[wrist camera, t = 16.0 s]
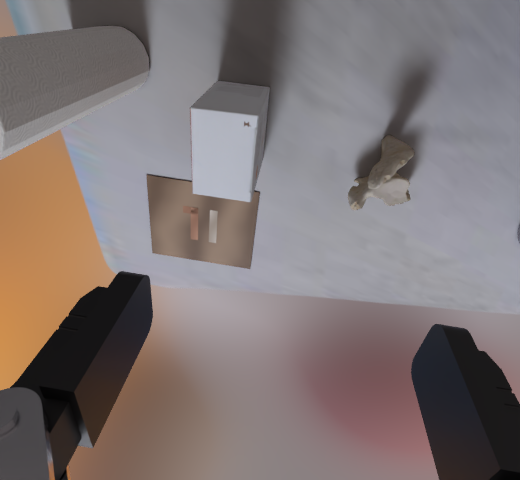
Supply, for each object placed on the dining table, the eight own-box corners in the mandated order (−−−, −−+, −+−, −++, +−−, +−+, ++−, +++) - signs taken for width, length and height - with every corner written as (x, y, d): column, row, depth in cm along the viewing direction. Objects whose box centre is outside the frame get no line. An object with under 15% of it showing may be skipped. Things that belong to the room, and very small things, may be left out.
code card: (259, 192, 43) (259, 192, 42) (250, 268, 49) (250, 268, 49) (146, 174, 43) (146, 175, 43) (152, 252, 50) (152, 253, 50)
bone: (385, 226, 41) (364, 241, 33) (345, 190, 43) (315, 197, 35) (442, 168, 37) (434, 168, 29) (395, 131, 39) (374, 122, 31)
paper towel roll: (162, 73, 36) (24, 142, 19) (119, 101, 38) (-42, 185, 21) (117, -2, 33) (-102, -4, 15) (72, 33, 35) (-165, 65, 17)
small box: (217, 79, 36) (188, 103, 27) (271, 86, 36) (259, 113, 27) (215, 154, 40) (190, 195, 32) (263, 160, 40) (251, 204, 32)
